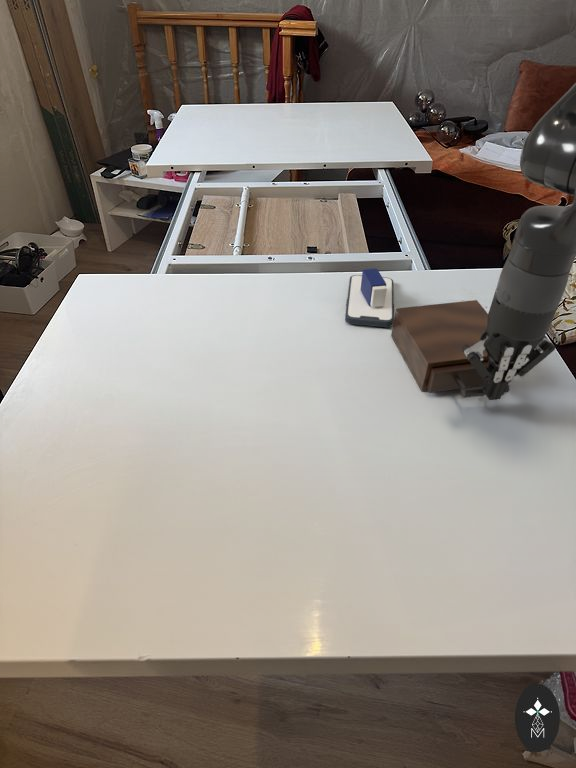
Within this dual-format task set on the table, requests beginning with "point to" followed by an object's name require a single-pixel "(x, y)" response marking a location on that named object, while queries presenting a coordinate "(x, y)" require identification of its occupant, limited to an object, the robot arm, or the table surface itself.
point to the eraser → (373, 287)
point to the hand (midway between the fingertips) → (491, 396)
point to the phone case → (362, 311)
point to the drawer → (457, 379)
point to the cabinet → (437, 335)
